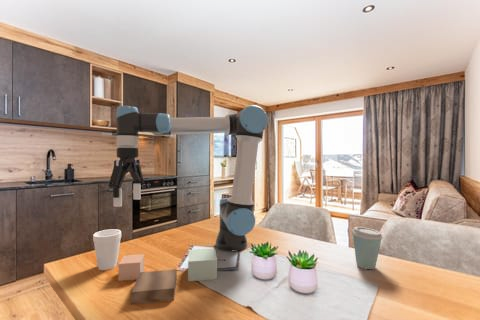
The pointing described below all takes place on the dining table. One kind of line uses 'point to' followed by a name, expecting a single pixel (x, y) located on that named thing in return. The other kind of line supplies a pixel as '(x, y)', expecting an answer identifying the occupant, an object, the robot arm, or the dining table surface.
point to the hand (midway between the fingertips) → (128, 202)
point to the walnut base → (154, 286)
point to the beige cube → (130, 267)
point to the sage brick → (202, 264)
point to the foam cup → (107, 248)
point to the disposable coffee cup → (366, 246)
